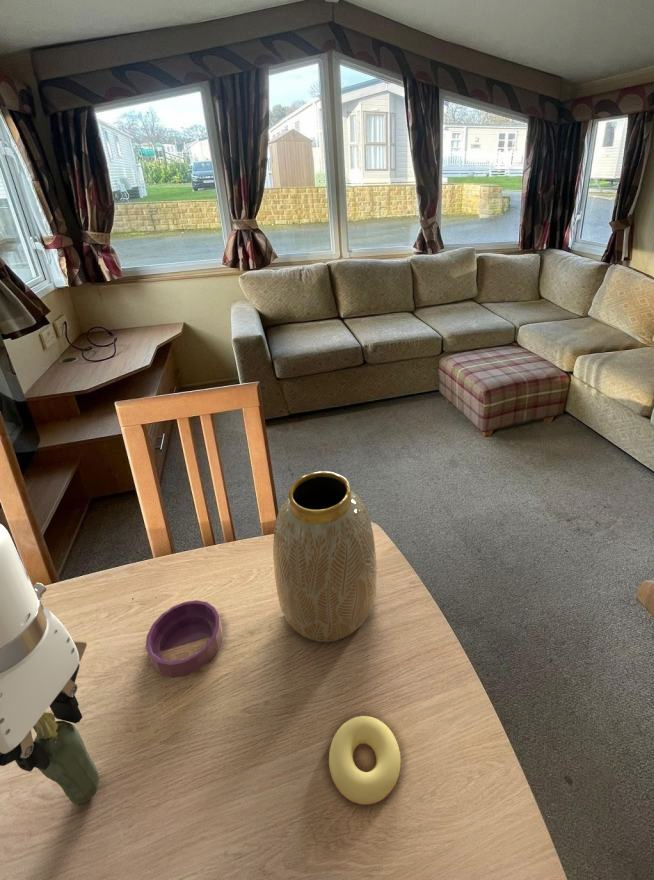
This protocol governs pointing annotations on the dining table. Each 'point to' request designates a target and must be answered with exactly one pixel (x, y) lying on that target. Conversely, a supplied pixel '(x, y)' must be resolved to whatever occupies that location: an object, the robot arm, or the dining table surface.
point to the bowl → (184, 637)
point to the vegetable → (67, 758)
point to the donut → (345, 772)
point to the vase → (324, 558)
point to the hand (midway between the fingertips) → (53, 739)
